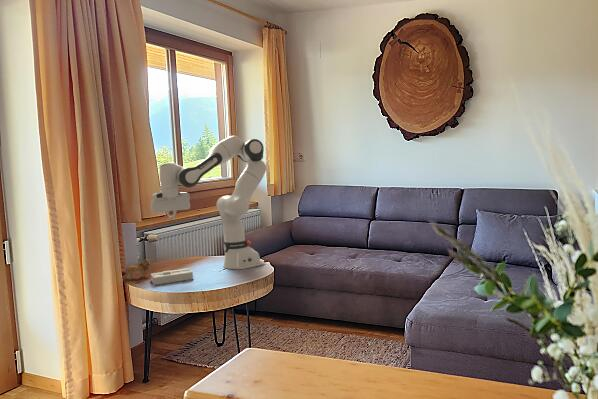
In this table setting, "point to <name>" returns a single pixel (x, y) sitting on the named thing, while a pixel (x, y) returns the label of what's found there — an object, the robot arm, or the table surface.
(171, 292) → the table surface
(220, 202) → the robot arm
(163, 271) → the key sage
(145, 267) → the lion figurine
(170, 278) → the keypad
